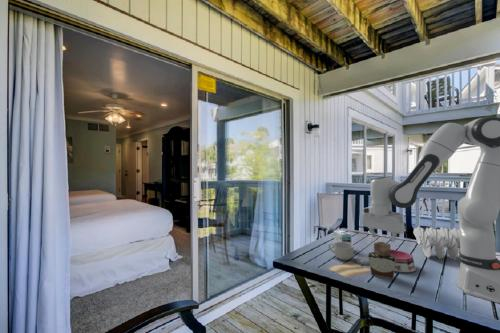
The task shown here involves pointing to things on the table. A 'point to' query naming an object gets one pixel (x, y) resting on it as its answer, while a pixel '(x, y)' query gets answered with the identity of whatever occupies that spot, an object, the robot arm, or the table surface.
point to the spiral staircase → (438, 241)
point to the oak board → (349, 269)
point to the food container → (382, 265)
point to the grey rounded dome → (363, 261)
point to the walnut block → (382, 248)
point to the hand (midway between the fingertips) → (382, 239)
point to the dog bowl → (403, 262)
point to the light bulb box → (342, 236)
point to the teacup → (342, 250)
